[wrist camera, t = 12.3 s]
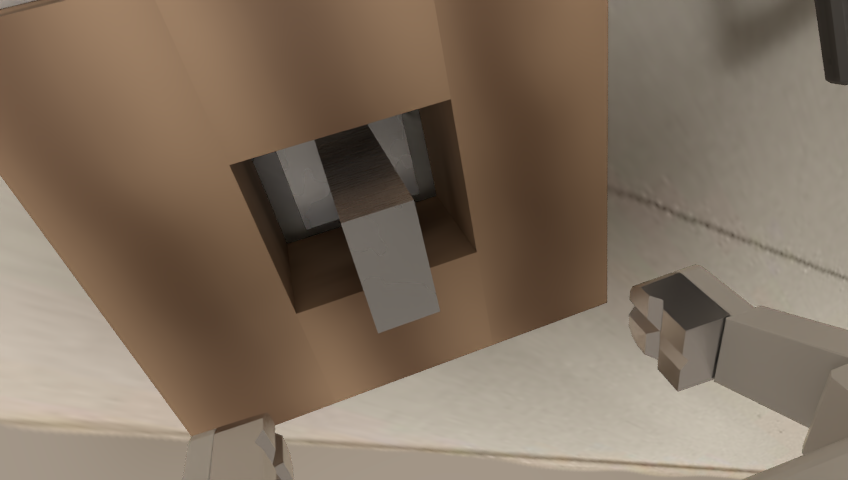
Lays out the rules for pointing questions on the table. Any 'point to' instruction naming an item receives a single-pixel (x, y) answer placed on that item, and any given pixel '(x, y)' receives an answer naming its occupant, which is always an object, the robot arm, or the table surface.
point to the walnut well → (288, 126)
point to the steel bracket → (369, 213)
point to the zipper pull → (834, 38)
